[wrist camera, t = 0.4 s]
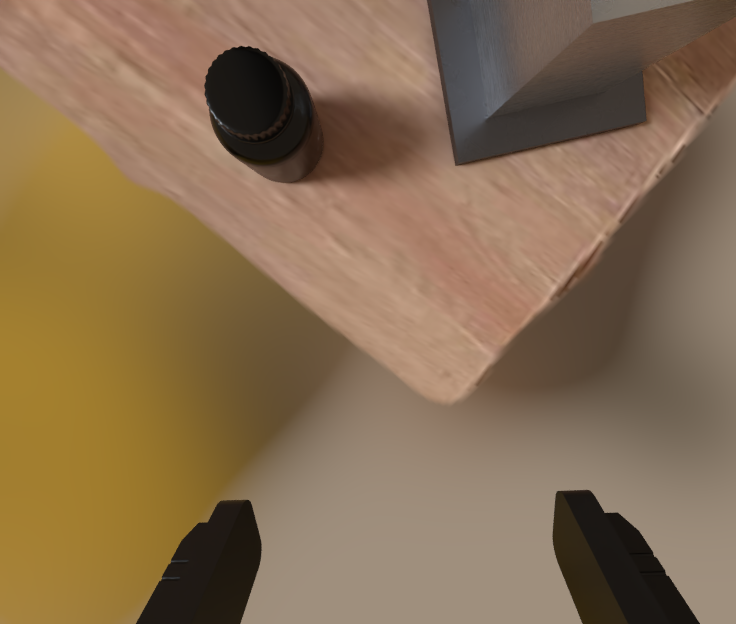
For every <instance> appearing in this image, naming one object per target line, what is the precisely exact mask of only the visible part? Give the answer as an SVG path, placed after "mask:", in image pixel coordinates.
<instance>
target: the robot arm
mask: <svg viewBox="0 0 736 624" xmlns="http://www.w3.org/2000/svg"><path fill="white" fill-rule="evenodd" d="M553 545H554V550H555V555H556V558H557V561H558V564H559V566H560V569H561V571H562V574H563V577H564V579H565V581H566V584H567V586H568V589H569V591H570V593H571V596H572V599H573V601H574V604H575V606H576V608H577V611H578V614H579V616H580V619H581V621H582V623H583V624H700V623H699V622H698V620H697V619H696V617H695V616H694V614H693V613H692V611H691V609H690V608H689V606H688V605H687V603H686V602H685V600H684V599H683V597H682V596H681V594H680V593H679V591H678V590H677V588H676V587H675V585H674V583H673V582H672V580H671V579H670V577H669V576H667V575H666V573H665V570H664V568H663V567H662V565H661V564H660V562H659V561H658V559H657V558H656V557H654V555H653V551H652V550H651V548H650V547H649V546H648V544H647V542H646V541H645V539H644V538H643V536H642V535H641V533H640V532H639V531H638V530H637V529H636V528H635V527H634V526H633V525H631V524H630V523H629V522H628V521H627V520H626V519H625V518H623V517H622V516H621V515H620V514H619V513H604V511H603V509H602V508H601V506H600V504H599V502H598V501H597V499H596V497H595V496H594V495H593V493H592V492H591V491H589V490H577V491H576V490H574V491H557V493H556V499H555V511H554V523H553ZM260 560H261V539H260V535H259V531H258V528H257V523H256V520H255V515H254V512H253V508H252V504H251V502H250V501H249V500H227V501H220V502H219V503H218V504H217V506H216V507H215V510H214V511H213V513H212V515H211V517H210V519H209V521H208V522H207V523H198V524H197V525H196V526H195V527H194V528H193V529H192V531H190V532H189V533H188V535H187V536H186V537H185V538H184V539H183V540H182V541H181V543H180V545H179V547H178V548H177V550H176V552H175V554H174V556H173V557H172V559H171V564H169V565H168V567H167V569H166V570H165V572H164V574H163V576H162V580H161V581H159V583H158V585H157V586H156V588H155V590H154V592H153V594H152V596H151V597H150V599H149V601H148V603H147V605H146V606H145V608H144V610H143V612H142V614H141V616H140V618H139V619H138V621H137V623H136V624H240V623H241V620H242V617H243V614H244V611H245V607H246V605H247V602H248V599H249V596H250V593H251V590H252V586H253V583H254V580H255V577H256V574H257V571H258V568H259V565H260Z"/></svg>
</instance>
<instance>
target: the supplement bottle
mask: <svg viewBox="0 0 736 624" xmlns="http://www.w3.org/2000/svg"><path fill="white" fill-rule="evenodd" d="M204 86H205V96H206V98H207V105H208V106H209V113H210V120H211V124H212V127H213V130H214V132H215V134H216V136H217V138H218V140H219V141H220V143H221V144H222V145H223V146H224V148H225V149H226V150H227V151H228V152H229V153H230V154H231V155H233V156H234V157H235V158H237V159H238V160H239V161H241V162H242V163H244V164H245V165H247V166H248V167H250V168H251V169H252V170H254V171H255V172H257V173H258V174H260V175H261V176H263V177H265V178H267V179H269V180H271V181H275V182H280V183H289V182H295V181H298V180H300V179H302V178H304V177H306V176H307V175H308V174H309V173H311V172H312V171H313V169H314V168H315V167H316V165H317V164H318V162H319V160H320V158H321V155H322V151H323V133H322V129H321V125H320V122H319V119H318V116H317V113H316V110H315V107H314V104H313V101H312V97H311V95H310V92H309V90H308V88H307V86H306V84H305V82H304V81H303V79H302V78H301V77H300V76H299V74H298V73H297V72H296V71H295V70H294V69H293V68H291V67H290V66H289V65H287V64H286V63H284V62H282V61H280V60H278V59H276V58H273V57H271V56H268V54H267V53H266V52H262V51H260V50H259V49H258V48H252V47H250V46H248V47H243V46H240V47H238V48H235V47H233V48H231V49H230V50H226V51H224V53H223V54H221V55H218V57H217V59H216V60H214V61H213V62H212V66H211V67H210V68H209V69H208V74H207V75H206V83H205V85H204Z"/></svg>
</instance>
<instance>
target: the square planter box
mask: <svg viewBox="0 0 736 624" xmlns="http://www.w3.org/2000/svg"><path fill="white" fill-rule="evenodd" d="M427 3H428V8H429V14H430V20H431V26H432V32H433V38H434V44H435V49H436V55H437V61H438V67H439V73H440V79H441V84H442V90H443V96H444V102H445V108H446V114H447V120H448V125H449V131H450V137H451V143H452V149H453V155H454V160H455V166H456V165H461V164H465V163H469V162H474V161H478V160H483V159H487V158H492V157H496V156H500V155H505V154H509V153H514V152H518V151H523V150H527V149H531V148H536V147H540V146H545V145H549V144H554V143H558V142H562V141H567V140H571V139H576V138H580V137H585V136H589V135H594V134H598V133H602V132H607V131H611V130H616V129H620V128H625V127H629V126H633V125H637V124H640V123H642V122H645V121H646V110H645V98H644V86H643V74H642V70H644V69H646V68H648V67H649V66H651V65H653V64H654V63H656V62H658V61H660V60H661V59H663V58H665V57H666V56H668V55H670V54H672V53H673V52H675V51H677V50H679V49H680V48H682V47H684V46H685V45H687V44H689V43H691V42H692V41H694V40H696V39H697V38H699V37H701V36H703V35H704V34H706V33H708V32H710V31H711V30H713V29H715V28H716V27H718V26H720V25H722V24H723V23H725V22H727V21H729V20H730V19H732V18H734V17H735V16H736V0H427Z"/></svg>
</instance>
